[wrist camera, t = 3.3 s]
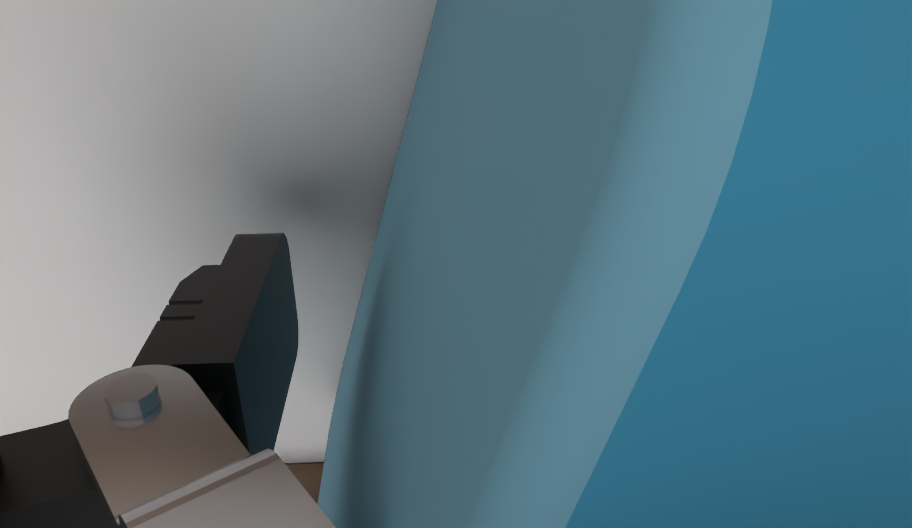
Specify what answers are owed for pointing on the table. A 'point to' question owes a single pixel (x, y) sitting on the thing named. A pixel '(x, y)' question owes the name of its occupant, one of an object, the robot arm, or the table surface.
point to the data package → (640, 274)
